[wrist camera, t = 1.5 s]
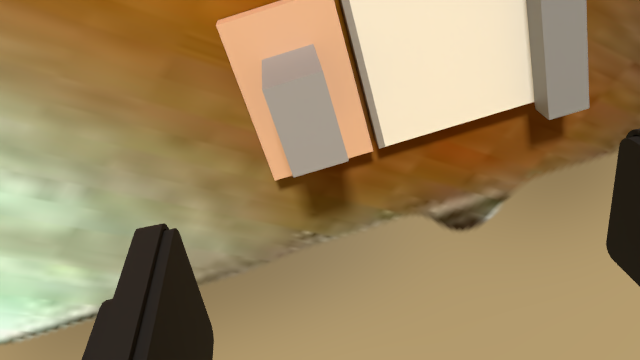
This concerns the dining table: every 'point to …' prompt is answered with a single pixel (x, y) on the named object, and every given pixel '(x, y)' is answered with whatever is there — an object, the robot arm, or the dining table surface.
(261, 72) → the pink base grey block
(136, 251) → the robot arm
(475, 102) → the base
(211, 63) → the dining table surface
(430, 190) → the dining table surface
